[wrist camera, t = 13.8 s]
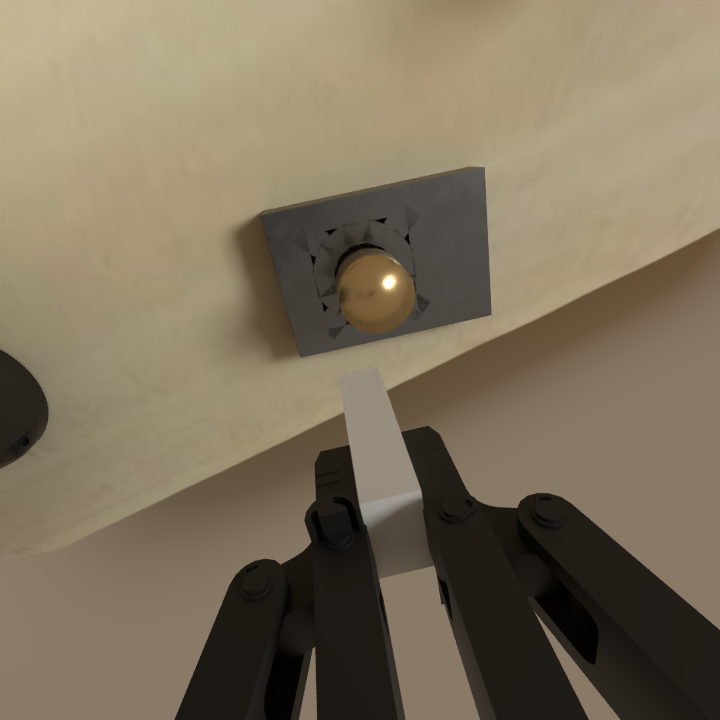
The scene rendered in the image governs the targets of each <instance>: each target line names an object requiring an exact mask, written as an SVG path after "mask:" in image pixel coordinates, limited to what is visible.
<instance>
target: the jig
mask: <svg viewBox="0 0 720 720" xmlns="http://www.w3.org/2000/svg"><path fill="white" fill-rule="evenodd" d="M260 216H261V220H262V223H263V227H264V230H265V234H266V237H267V241H268V245H269V248H270V252H271V255H272V259H273V262H274V266H275V269H276V273H277V276H278V280H279V283H280V287H281V290H282V294H283V297H284V301H285V305H286V308H287V312H288V315H289V319H290V322H291V326H292V329H293V333H294V336H295V340H296V343H297V347H298V350H299V354H300V357H306V356H310V355H315V354H319V353H323V352H328V351H332V350H337V349H341V348H346V347H350V346H355V345H359V344H364V343H368V342H373V341H377V340H382V339H386V338H391V337H395V336H400V335H404V334H409V333H413V332H418V331H422V330H427V329H431V328H435V327H440V326H444V325H449V324H453V323H458V322H462V321H467V320H471V319H476V318H480V317H485V316H489V315H492V314H491V293H490V272H489V250H488V229H487V208H486V186H485V167H466V168H461V169H457V170H452V171H447V172H442V173H438V174H433V175H428V176H424V177H419V178H414V179H410V180H405V181H400V182H396V183H391V184H386V185H382V186H377V187H372V188H368V189H363V190H358V191H354V192H349V193H344V194H340V195H335V196H330V197H326V198H321V199H316V200H312V201H307V202H302V203H297V204H293V205H288V206H283V207H279V208H274V209H269V210H265V211H263V212H262V214H261V215H260ZM363 243H370V244H373V245H376V246H379V247H382V248H383V249H384V250H385V251H386V252H387V253H389V254H390V255H392V256H393V257H394V258H395V259H396V260H397V261H398V262H399V264H400V265H401V266H402V267H403V268H404V269H405V270H406V271H407V272H408V274H409V275H410V277H411V279H412V281H413V283H414V287H415V302H414V306H413V309H412V311H411V313H410V315H409V316H408V318H407V319H406V320H405V321H404V322H403V323H402V324H401V325H399V326H398V327H397V328H395V329H393V330H391V331H388V332H385V333H379V334H372V333H366V332H363V331H360V330H358V329H356V328H355V327H353V326H352V325H351V324H350V323H349V322H348V321H347V320H346V318H345V316H344V315H343V313H342V310H341V307H340V302H339V298H338V294H337V290H336V277H335V273H334V272H335V269H336V266H337V263H338V260H339V257H340V256H341V255H342V254H343V253H345V252H346V251H347V250H348V249H349V248H350V247H351V246H354V245H359V244H363ZM312 255H313V259H312Z"/></svg>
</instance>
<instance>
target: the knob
mask: <svg viewBox="0 0 720 720" xmlns="http://www.w3.org/2000/svg"><path fill="white" fill-rule="evenodd" d="M336 290H337V294H338V298H339V302H340V307H341V310H342V313H343V315H344V316H345V318H346V320H347V321H348V322H349V323H350V324H351V325H352V326H353V327H355V328H356V329H358V330H360V331H363V332H366V333H372V334H379V333H385V332H388V331H391V330H393V329H395V328H397V327H398V326H399V325H401V324H402V323H403V322H404V321H405V320H406V319H407V318H408V316H409V315H410V313H411V311H412V309H413V306H414V302H415V287H414V283H413V281H412V279H411V277H410V275H409V274H408V272H407V271H406V270H405V269H404V268H403V267H402V266H401V265H400V264H399V262H398V261H397V260H396V259H395V258H394V257H393V256H392V255H390V254H389V253H387V252H386V251H383V250H381V249H376V248H369V247H367V246H356V247H353V248H351V249H350V250H348V251H347V252H346V254H345V255H344V257H343V259H342V263H341V266H340V268H339V270H338V272H337V276H336Z"/></svg>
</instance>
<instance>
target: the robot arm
mask: <svg viewBox="0 0 720 720" xmlns="http://www.w3.org/2000/svg"><path fill="white" fill-rule="evenodd" d="M339 381H340V387H341V393H342V400H343V406H344V412H345V418H346V425H347V431H348V436H349V443H350V445H347V446H343V447H339V448H334V449H330V450H326V451H321V452H320V454H319V456H318V458H317V460H316V462H315V486H316V501H315V502H314V503H313V504H312V505H311V506H310V507H309V509H308V510H307V512H306V516H305V520H304V521H305V524H306V527H307V530H308V532H309V535H310V538H311V541H312V542H311V543H310V545H309V546H308V547H307V548H306V549H305V550H304V551H303V552H302V553H300V554H299V555H297V556H296V557H294V558H292V559H290V560H288V561H287V562H285V563H283V564H281V565H280V564H279V563H278V562H276V561H275V560H270V559H262V560H257V561H254V562H252V563H250V564H248V565H246V566H245V567H244V568H242V569H241V570H240V571H239V572H238V573H237V574H236V575H235V577H234V579H233V580H232V582H231V584H230V585H229V588H228V591H227V593H226V595H225V598H224V600H223V602H222V605H221V607H220V610H219V612H218V615H217V617H216V620H215V622H214V625H213V627H212V629H211V632H210V634H209V637H208V639H207V642H206V644H205V647H204V649H203V651H202V654H201V656H200V659H199V661H198V664H197V666H196V669H195V671H194V673H193V676H192V678H191V681H190V683H189V686H188V688H187V690H186V693H185V695H184V698H183V700H182V703H181V705H180V708H179V710H178V713H177V715H176V718H175V720H299V715H300V711H301V706H302V700H303V695H304V690H305V685H306V680H307V675H308V670H309V665H310V659H311V655H312V649H313V648H314V647H315V654H316V690H317V720H405V715H404V709H403V704H402V698H401V693H400V687H399V682H398V676H397V671H396V665H395V660H394V654H393V649H392V644H391V638H390V633H389V627H388V622H387V617H386V611H385V605H384V600H383V596H382V592H381V588H380V583H379V579H380V578H384V577H388V576H392V575H396V574H401V573H405V572H409V571H413V570H417V569H421V568H426V567H430V566H433V563H434V566H435V569H436V573H437V579H438V585H439V592H440V597H441V604H445V608H446V611H447V614H448V618H449V621H450V624H451V627H452V631H453V634H454V637H455V640H456V643H457V646H458V650H459V653H460V656H461V659H462V663H463V666H464V669H465V672H466V675H467V679H468V682H469V685H470V688H471V692H472V695H473V698H474V701H475V704H476V708H477V711H478V714H479V717H480V720H589V719H588V717H587V715H586V713H585V711H584V709H583V707H582V705H581V703H580V702H579V699H578V697H577V695H576V694H575V691H574V690H573V688H572V685H571V684H570V682H569V680H568V678H567V676H566V674H565V672H564V670H563V668H562V666H561V664H560V662H559V660H558V658H557V656H556V654H555V652H554V650H553V648H552V646H551V644H550V642H549V640H548V638H547V636H546V634H545V632H544V630H543V628H542V626H541V624H540V622H539V620H538V618H537V616H536V614H537V615H538V616H539V618H540V619H541V620H542V621H543V623H544V624H545V625H546V626H547V627H548V629H549V630H550V631H551V633H552V634H553V635H554V636H555V637H556V639H557V640H558V641H559V643H560V644H561V645H562V646H563V648H564V649H565V650H566V652H567V653H568V654H569V655H570V656H571V658H572V659H573V660H574V662H575V663H576V664H577V665H578V667H579V668H580V669H581V670H582V672H583V673H584V674H585V675H586V677H587V678H588V679H589V680H590V682H591V683H592V684H593V685H594V687H595V688H596V689H597V690H598V692H599V693H600V694H601V696H602V697H603V698H604V699H605V701H606V702H607V703H608V704H609V706H610V707H611V708H612V709H613V711H614V712H615V713H616V714H617V716H618V717H619V718H620V719H621V720H720V630H719V629H718V628H717V627H716V626H714V625H713V624H712V623H711V622H710V621H709V620H707V619H706V618H705V617H704V616H703V615H702V614H700V613H699V612H698V611H697V610H696V609H694V608H693V607H692V606H691V605H690V604H689V603H687V602H686V601H685V600H684V599H683V598H681V597H680V596H679V595H678V594H677V593H676V592H674V591H673V590H672V589H671V588H670V587H669V586H667V585H666V584H665V583H664V582H663V581H662V580H660V579H659V578H658V577H657V576H656V575H654V574H653V573H652V572H651V571H650V570H649V569H647V568H646V567H645V566H644V565H643V564H642V563H640V562H639V561H638V560H637V559H636V558H635V557H633V556H632V555H631V554H630V553H629V552H627V551H626V550H625V549H624V548H623V547H622V546H620V545H619V544H618V543H617V542H616V541H615V540H613V539H612V538H611V537H610V536H609V535H608V534H606V533H605V532H604V531H603V530H602V529H601V528H599V527H598V526H597V525H596V524H595V523H593V522H592V521H591V520H590V519H589V518H588V517H586V516H585V515H584V514H583V513H582V512H580V511H579V510H578V509H577V508H576V507H575V506H573V505H572V504H571V503H570V502H568V501H566V500H565V499H563V498H562V497H559V496H556V495H553V494H549V493H536V494H532V495H529V496H527V497H525V498H524V499H523V500H521V501H520V503H519V505H518V508H504V507H502V508H501V507H493V506H489V505H485V504H483V503H480V502H479V501H477V500H476V499H475V498H474V497H472V496H471V495H470V494H469V492H468V491H467V489H466V487H465V485H464V483H463V481H462V479H461V477H460V475H459V473H458V471H457V469H456V467H455V465H454V463H453V461H452V459H451V457H450V456H449V453H448V451H447V449H446V447H445V445H444V442H443V440H442V438H441V436H440V435H439V433H437V432H436V431H435V430H433V429H432V428H430V427H429V426H426V427H421V428H417V429H412V430H408V431H404V432H400V429H399V426H398V423H397V420H396V418H395V415H394V412H393V409H392V406H391V403H390V400H389V397H388V395H387V392H386V389H385V386H384V383H383V380H382V378H381V375H380V372H379V369H378V366H375V367H371V368H366V369H362V370H358V371H353V372H349V373H344V374H340V375H339ZM47 422H48V405H47V401H46V398H45V395H44V393H43V391H42V389H41V387H40V385H39V384H38V382H37V381H36V379H35V378H34V377H33V376H32V374H31V373H30V372H29V371H28V370H27V369H26V368H25V367H24V366H23V365H22V364H20V363H19V362H18V361H17V360H15V359H14V358H13V357H11V356H10V355H8V354H7V353H5V352H4V351H2V350H0V469H1V468H3V467H5V466H7V465H9V464H11V463H13V462H14V461H16V460H17V459H19V458H20V457H22V456H23V455H24V454H25V453H26V452H27V451H28V450H29V449H30V448H31V447H32V446H33V445H34V444H35V443H36V442H37V441H38V440H39V439H40V437H41V436H42V434H43V433H44V431H45V429H46V426H47ZM534 611H535V612H534ZM535 613H536V614H535Z"/></svg>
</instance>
